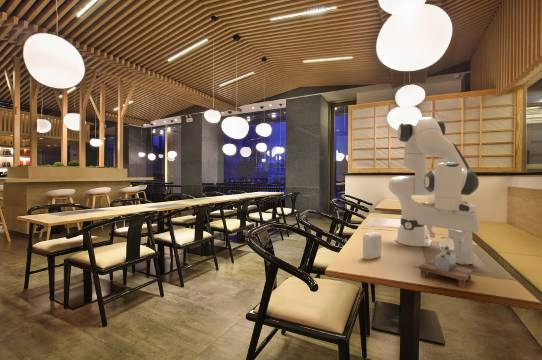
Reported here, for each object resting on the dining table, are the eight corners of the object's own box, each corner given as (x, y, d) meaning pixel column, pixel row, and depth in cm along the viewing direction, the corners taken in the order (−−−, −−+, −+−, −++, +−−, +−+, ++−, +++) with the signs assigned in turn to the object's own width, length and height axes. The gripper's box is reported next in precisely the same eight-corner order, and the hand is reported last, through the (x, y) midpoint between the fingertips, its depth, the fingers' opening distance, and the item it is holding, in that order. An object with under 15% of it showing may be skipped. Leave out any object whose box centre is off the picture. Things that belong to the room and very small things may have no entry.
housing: (435, 269, 102) (435, 254, 102) (442, 263, 109) (443, 249, 109) (448, 272, 99) (449, 256, 99) (455, 266, 106) (455, 251, 105)
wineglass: (435, 263, 120) (436, 237, 120) (444, 262, 123) (444, 236, 122) (448, 267, 115) (449, 240, 115) (457, 266, 117) (457, 239, 117)
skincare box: (473, 264, 120) (474, 231, 119) (460, 264, 119) (461, 231, 119) (459, 258, 128) (460, 227, 128) (446, 258, 128) (447, 227, 127)
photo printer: (374, 254, 133) (375, 229, 133) (382, 257, 129) (382, 231, 129) (361, 258, 127) (361, 232, 127) (368, 260, 124) (369, 233, 123)
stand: (428, 269, 113) (428, 259, 113) (472, 279, 102) (472, 269, 102) (418, 276, 105) (419, 266, 105) (465, 288, 94) (465, 277, 94)
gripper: (415, 202, 108) (414, 235, 109) (478, 208, 94) (476, 247, 94) (420, 200, 113) (419, 233, 113) (482, 206, 98) (480, 243, 99)
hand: (446, 239), depth 104 cm, fingers open, 8 cm apart
